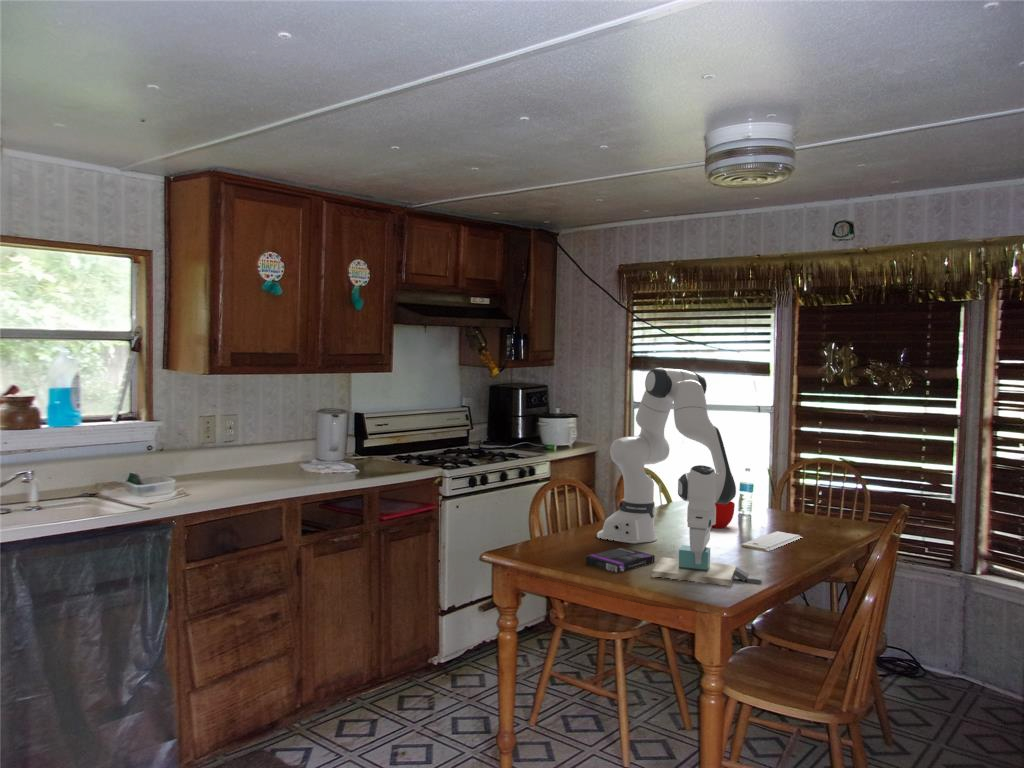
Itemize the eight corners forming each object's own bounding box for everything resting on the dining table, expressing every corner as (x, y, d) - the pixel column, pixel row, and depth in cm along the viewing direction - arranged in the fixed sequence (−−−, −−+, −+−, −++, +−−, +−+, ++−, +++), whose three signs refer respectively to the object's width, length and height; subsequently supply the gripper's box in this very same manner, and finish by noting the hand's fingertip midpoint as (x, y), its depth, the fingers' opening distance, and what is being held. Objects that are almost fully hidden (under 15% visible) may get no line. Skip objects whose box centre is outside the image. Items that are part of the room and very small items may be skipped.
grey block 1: (733, 574, 247) (735, 570, 247) (734, 571, 251) (736, 567, 251) (744, 581, 246) (747, 577, 246) (745, 578, 250) (748, 574, 249)
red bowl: (729, 521, 335) (730, 498, 334) (736, 530, 318) (737, 506, 317) (698, 520, 336) (698, 497, 336) (703, 529, 319) (704, 504, 319)
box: (617, 575, 254) (655, 564, 267) (617, 564, 253) (655, 554, 266) (585, 565, 264) (623, 555, 277) (585, 555, 264) (623, 545, 277)
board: (651, 577, 249) (651, 570, 249) (662, 563, 266) (662, 557, 266) (730, 586, 241) (730, 579, 241) (736, 571, 257) (736, 565, 257)
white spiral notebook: (806, 540, 306) (776, 535, 314) (807, 532, 306) (776, 527, 314) (772, 554, 283) (740, 548, 291) (772, 546, 283) (741, 540, 291)
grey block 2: (760, 579, 244) (760, 585, 244) (761, 576, 248) (761, 581, 248) (746, 578, 246) (746, 583, 246) (747, 574, 249) (747, 579, 249)
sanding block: (678, 568, 252) (678, 549, 252) (681, 563, 258) (682, 545, 258) (707, 571, 249) (708, 552, 249) (709, 566, 255) (710, 547, 255)
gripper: (695, 510, 263) (694, 552, 264) (686, 522, 244) (685, 567, 245) (715, 512, 261) (713, 554, 261) (707, 524, 242) (706, 569, 242)
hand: (700, 560), depth 253 cm, fingers closed on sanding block, 6 cm apart
